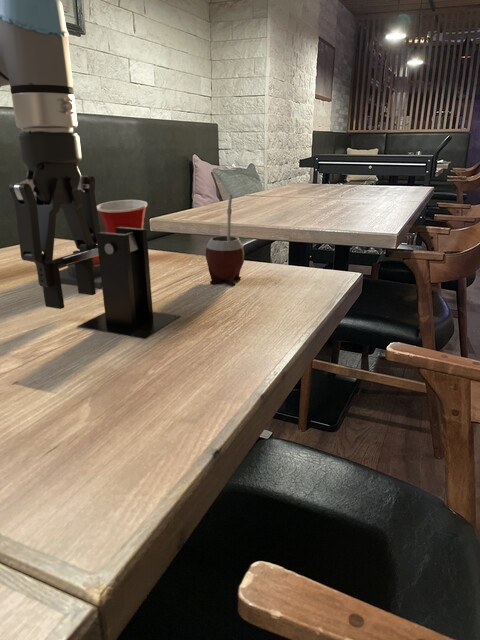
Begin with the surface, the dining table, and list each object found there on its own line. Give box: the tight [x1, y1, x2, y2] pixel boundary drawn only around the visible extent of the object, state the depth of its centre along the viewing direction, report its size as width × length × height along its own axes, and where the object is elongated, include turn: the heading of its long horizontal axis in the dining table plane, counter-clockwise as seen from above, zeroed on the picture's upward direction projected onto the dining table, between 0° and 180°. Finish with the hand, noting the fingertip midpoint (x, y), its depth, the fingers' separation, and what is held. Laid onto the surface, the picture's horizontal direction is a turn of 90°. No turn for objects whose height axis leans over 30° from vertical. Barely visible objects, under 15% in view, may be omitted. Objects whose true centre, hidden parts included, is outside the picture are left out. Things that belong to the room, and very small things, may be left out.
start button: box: [93, 256, 100, 265], centre depth 89 cm, size 4×4×2 cm
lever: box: [52, 232, 139, 270], centre depth 67 cm, size 13×6×2 cm, turn 66°
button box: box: [59, 264, 102, 290], centre depth 90 cm, size 12×10×4 cm
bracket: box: [76, 227, 181, 340], centre depth 67 cm, size 11×9×14 cm
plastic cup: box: [96, 199, 148, 233], centre depth 107 cm, size 11×11×12 cm
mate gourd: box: [205, 194, 246, 287], centre depth 89 cm, size 8×8×15 cm
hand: (71, 299), depth 72 cm, fingers closed on lever, 6 cm apart
